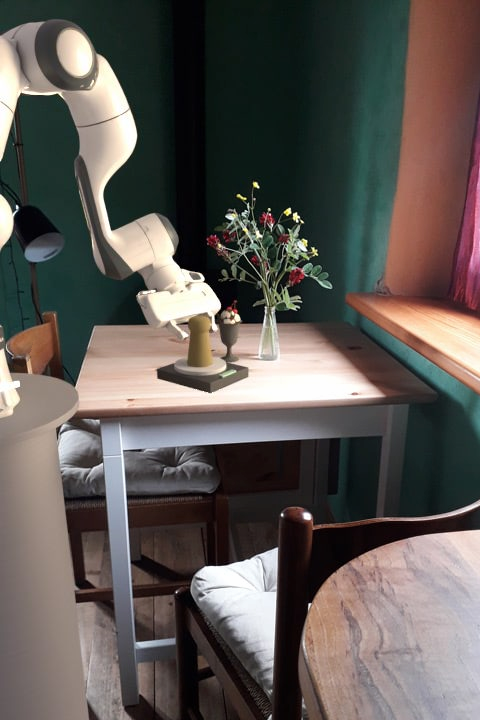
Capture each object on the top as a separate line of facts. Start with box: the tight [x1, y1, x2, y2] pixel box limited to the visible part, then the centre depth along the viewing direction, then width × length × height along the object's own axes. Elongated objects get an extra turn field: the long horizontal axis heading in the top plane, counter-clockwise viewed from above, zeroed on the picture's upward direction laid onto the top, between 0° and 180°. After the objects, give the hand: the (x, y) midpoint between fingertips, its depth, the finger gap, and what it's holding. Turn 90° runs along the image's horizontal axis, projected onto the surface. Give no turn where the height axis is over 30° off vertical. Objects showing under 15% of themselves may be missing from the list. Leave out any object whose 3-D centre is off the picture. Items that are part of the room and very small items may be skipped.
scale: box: [156, 356, 250, 394], centre depth 143 cm, size 14×16×3 cm
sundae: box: [215, 300, 243, 363], centre depth 155 cm, size 7×7×15 cm
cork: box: [187, 316, 213, 367], centre depth 141 cm, size 6×6×11 cm
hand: (199, 335), depth 140 cm, fingers open, 8 cm apart
